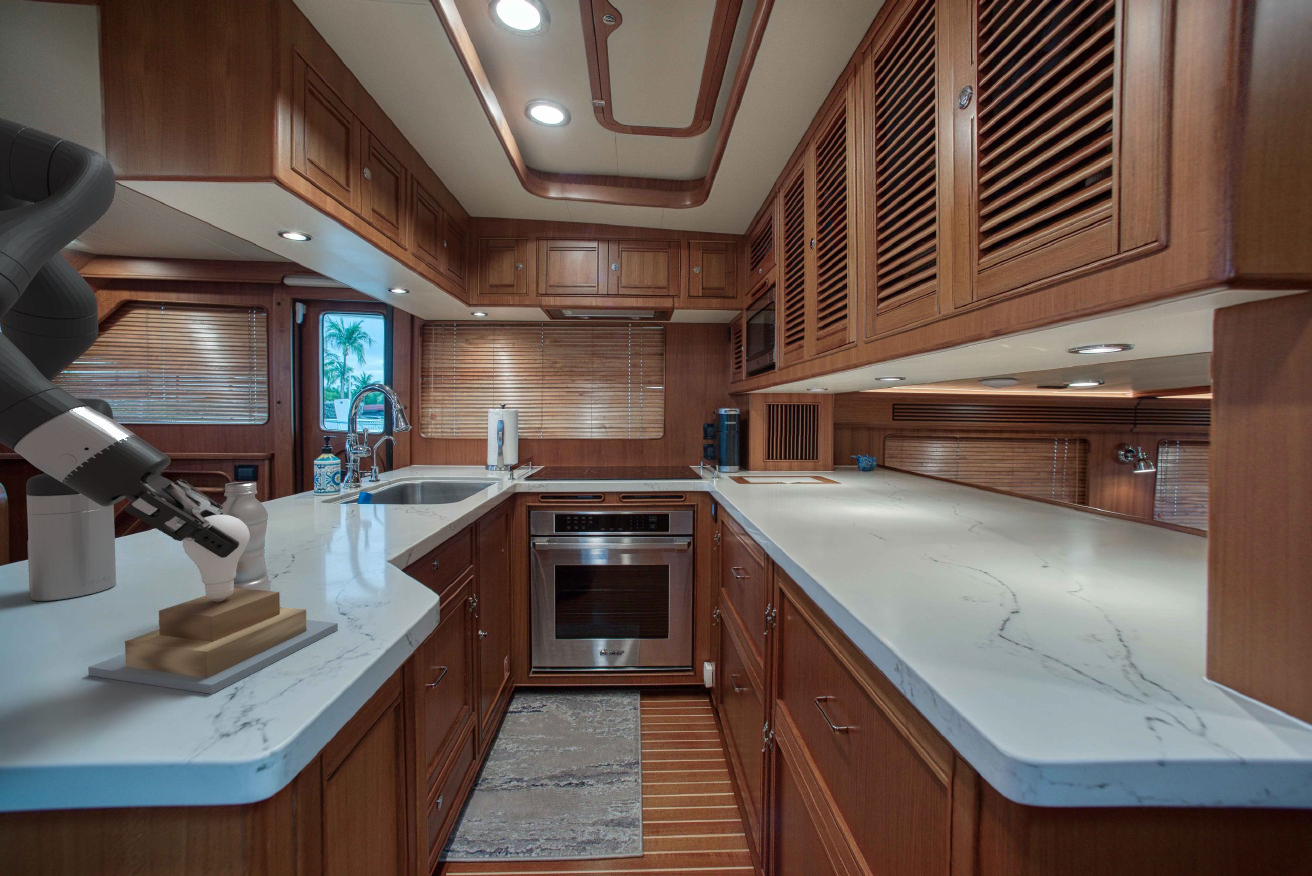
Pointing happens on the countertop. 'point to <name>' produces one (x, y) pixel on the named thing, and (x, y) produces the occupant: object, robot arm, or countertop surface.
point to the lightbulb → (213, 567)
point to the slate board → (120, 671)
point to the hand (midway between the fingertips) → (237, 544)
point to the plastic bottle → (255, 518)
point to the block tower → (215, 633)
